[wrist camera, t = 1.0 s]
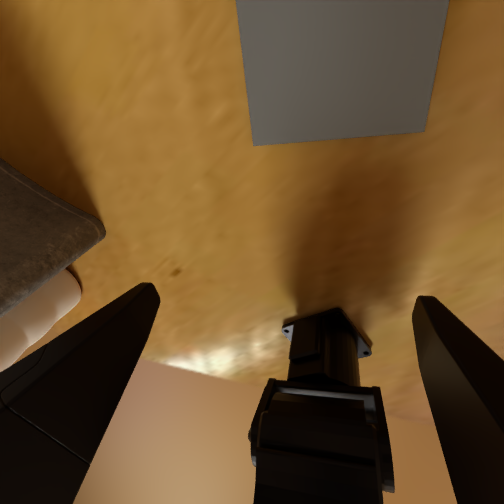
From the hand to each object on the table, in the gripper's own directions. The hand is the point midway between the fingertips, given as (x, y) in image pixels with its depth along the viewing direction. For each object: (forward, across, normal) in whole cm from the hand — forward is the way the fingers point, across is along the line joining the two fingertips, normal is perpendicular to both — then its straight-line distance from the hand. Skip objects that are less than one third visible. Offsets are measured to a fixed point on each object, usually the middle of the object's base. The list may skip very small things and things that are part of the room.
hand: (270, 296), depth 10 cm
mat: (+13, -2, -6) cm, 15 cm away
